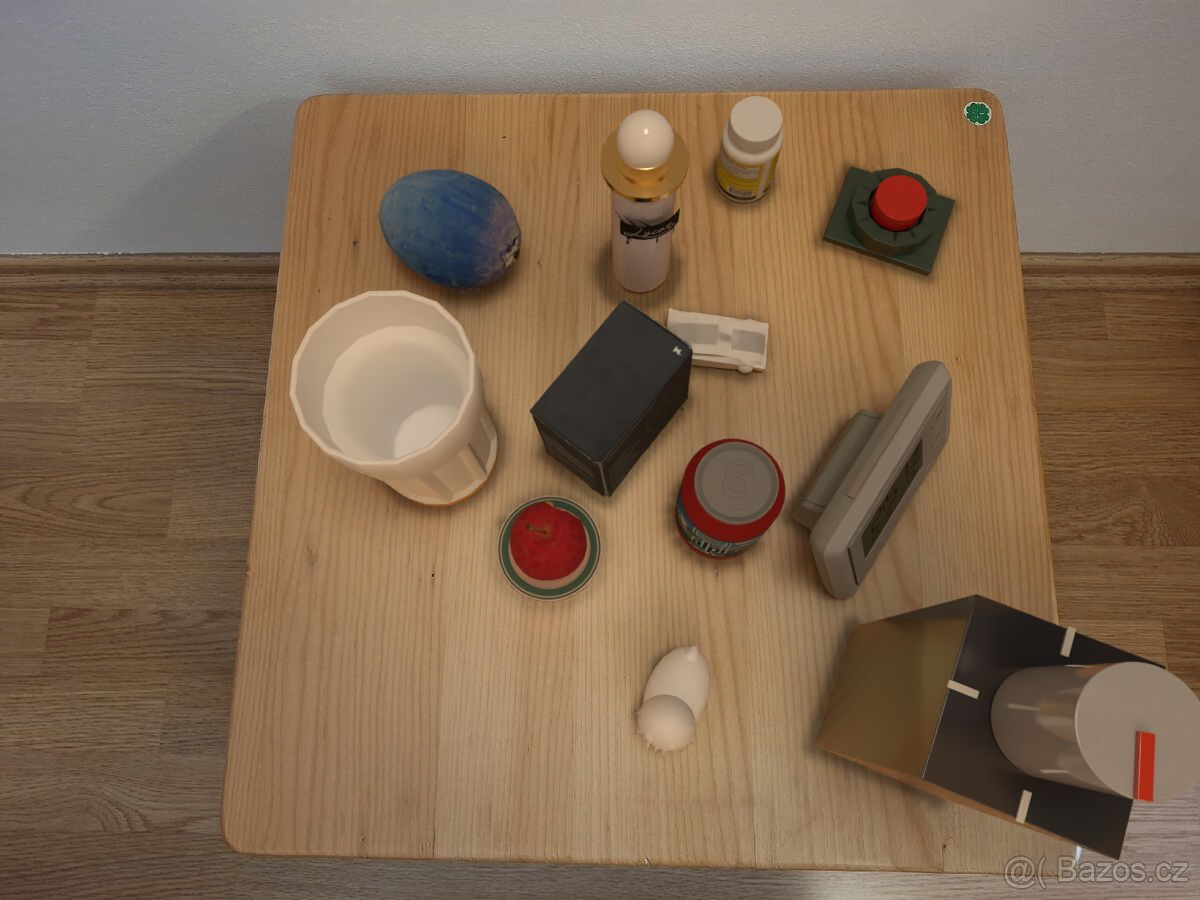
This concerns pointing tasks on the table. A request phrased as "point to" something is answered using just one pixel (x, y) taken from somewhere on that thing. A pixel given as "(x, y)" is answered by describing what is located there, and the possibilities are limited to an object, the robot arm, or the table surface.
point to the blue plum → (450, 228)
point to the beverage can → (728, 498)
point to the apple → (549, 548)
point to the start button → (898, 203)
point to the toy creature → (674, 699)
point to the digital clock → (874, 477)
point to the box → (614, 397)
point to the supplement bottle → (749, 149)
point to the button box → (897, 247)
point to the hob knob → (1102, 728)
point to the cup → (396, 396)
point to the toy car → (722, 340)
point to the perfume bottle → (643, 196)
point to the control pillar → (964, 713)
